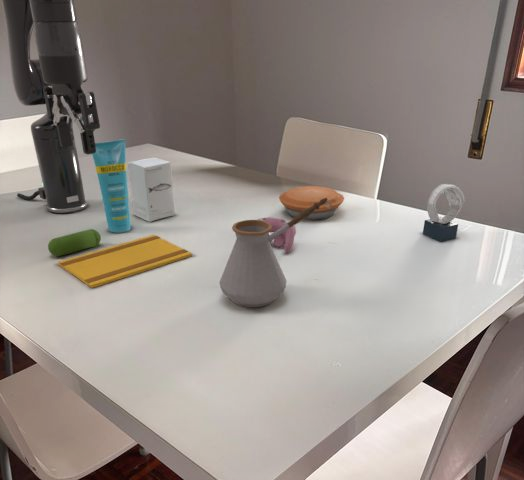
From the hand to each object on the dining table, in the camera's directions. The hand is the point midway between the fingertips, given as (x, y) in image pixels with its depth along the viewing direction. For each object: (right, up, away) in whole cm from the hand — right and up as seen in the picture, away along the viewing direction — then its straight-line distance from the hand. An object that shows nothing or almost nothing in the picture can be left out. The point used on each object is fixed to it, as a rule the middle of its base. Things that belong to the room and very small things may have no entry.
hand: (78, 149), depth 105 cm
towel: (+7, -19, +7) cm, 22 cm away
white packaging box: (+9, -5, +30) cm, 32 cm away
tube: (+2, -10, +22) cm, 25 cm away
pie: (+46, -4, +31) cm, 56 cm away
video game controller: (+36, -16, +12) cm, 42 cm away
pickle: (-4, -17, +12) cm, 21 cm away
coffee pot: (+37, -27, -5) cm, 46 cm away
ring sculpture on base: (+73, -13, +17) cm, 76 cm away
